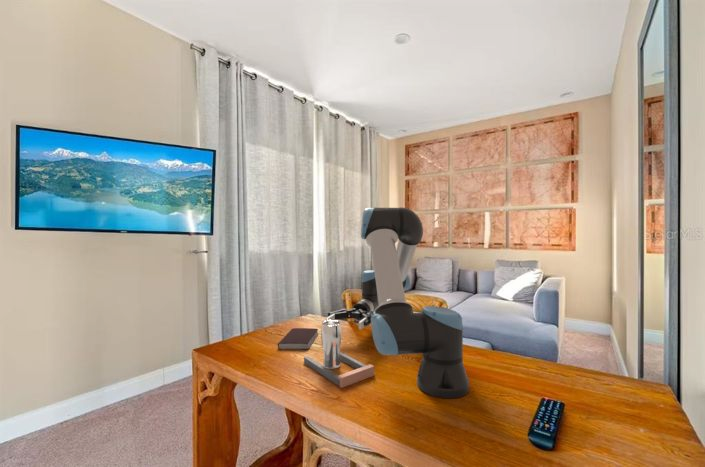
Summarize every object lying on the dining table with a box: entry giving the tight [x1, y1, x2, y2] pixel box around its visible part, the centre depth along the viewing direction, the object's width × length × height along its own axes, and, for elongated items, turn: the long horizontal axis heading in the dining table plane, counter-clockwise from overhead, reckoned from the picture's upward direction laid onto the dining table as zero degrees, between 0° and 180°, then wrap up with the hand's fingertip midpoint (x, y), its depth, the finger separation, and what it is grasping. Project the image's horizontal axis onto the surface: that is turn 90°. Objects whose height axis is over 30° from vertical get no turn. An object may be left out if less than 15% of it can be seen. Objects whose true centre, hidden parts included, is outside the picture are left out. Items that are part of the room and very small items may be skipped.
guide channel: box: [303, 351, 375, 389], centre depth 110 cm, size 23×13×3 cm, turn 38°
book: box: [277, 327, 319, 351], centre depth 137 cm, size 12×19×3 cm, turn 174°
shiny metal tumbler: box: [320, 319, 342, 370], centre depth 112 cm, size 7×7×15 cm
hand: (342, 324), depth 122 cm, fingers open, 13 cm apart
